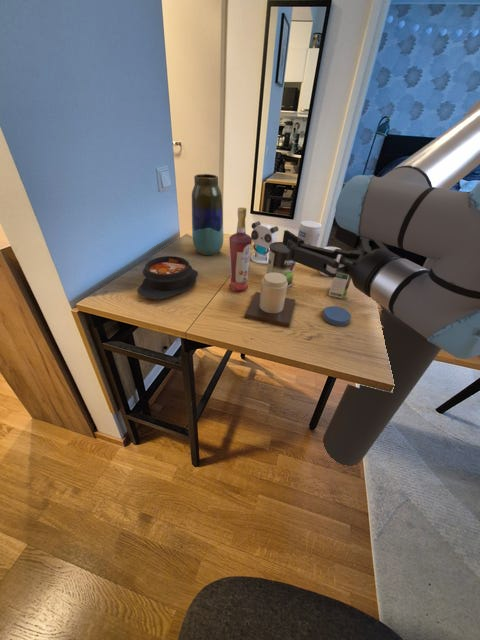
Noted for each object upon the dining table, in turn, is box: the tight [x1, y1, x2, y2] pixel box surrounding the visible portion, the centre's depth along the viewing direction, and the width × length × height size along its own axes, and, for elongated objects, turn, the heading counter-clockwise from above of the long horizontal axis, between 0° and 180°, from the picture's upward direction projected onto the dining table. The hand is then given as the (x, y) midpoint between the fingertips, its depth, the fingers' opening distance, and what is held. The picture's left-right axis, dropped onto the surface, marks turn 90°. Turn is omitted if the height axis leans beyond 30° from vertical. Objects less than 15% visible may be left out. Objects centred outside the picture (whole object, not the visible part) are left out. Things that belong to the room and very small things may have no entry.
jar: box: [259, 272, 288, 313], centre depth 81 cm, size 8×8×10 cm
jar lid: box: [322, 305, 352, 327], centre depth 83 cm, size 8×8×2 cm
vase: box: [191, 173, 225, 256], centre depth 111 cm, size 14×14×31 cm
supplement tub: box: [297, 220, 323, 247], centre depth 118 cm, size 10×10×15 cm
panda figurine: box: [250, 221, 279, 265], centre depth 113 cm, size 12×11×15 cm
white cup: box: [318, 246, 343, 278], centre depth 106 cm, size 8×8×10 cm
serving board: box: [244, 291, 296, 328], centre depth 85 cm, size 14×14×2 cm
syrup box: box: [328, 255, 352, 300], centre depth 91 cm, size 6×6×14 cm
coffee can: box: [266, 241, 297, 288], centre depth 97 cm, size 10×10×14 cm
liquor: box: [228, 207, 253, 293], centre depth 87 cm, size 7×7×28 cm
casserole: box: [136, 255, 199, 300], centre depth 92 cm, size 25×19×8 cm
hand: (312, 234), depth 57 cm, fingers open, 13 cm apart
